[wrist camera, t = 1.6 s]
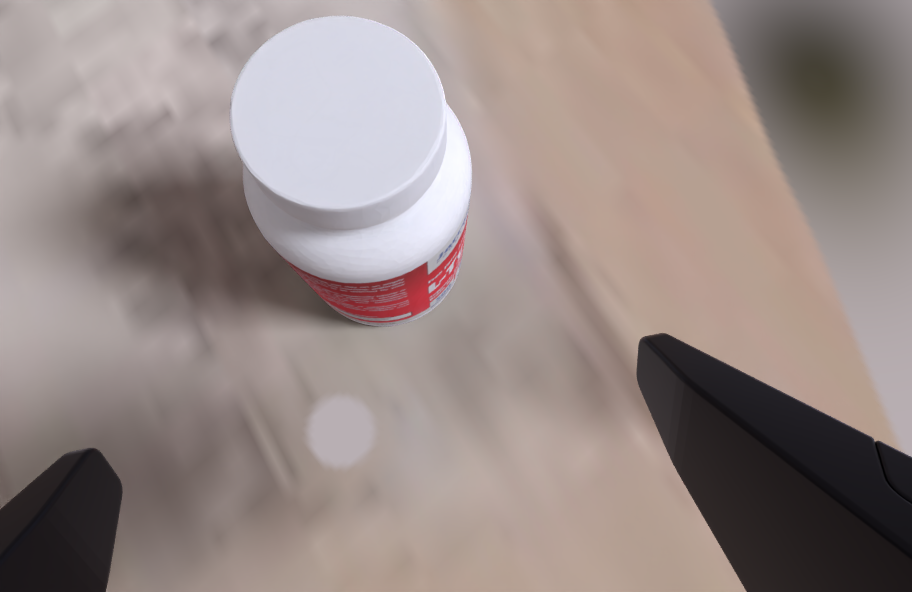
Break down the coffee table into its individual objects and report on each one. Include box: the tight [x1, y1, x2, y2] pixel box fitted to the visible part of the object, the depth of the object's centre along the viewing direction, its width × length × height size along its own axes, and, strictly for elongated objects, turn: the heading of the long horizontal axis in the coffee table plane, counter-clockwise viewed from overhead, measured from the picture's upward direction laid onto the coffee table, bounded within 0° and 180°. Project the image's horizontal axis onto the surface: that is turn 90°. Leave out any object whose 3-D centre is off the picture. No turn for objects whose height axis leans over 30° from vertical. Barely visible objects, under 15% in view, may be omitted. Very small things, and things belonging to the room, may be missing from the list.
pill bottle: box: [230, 16, 472, 326], centre depth 17 cm, size 6×6×11 cm
